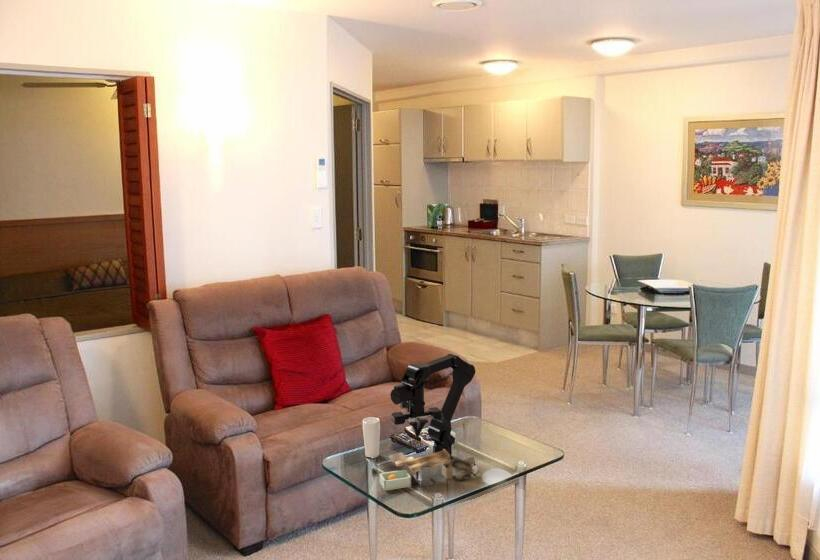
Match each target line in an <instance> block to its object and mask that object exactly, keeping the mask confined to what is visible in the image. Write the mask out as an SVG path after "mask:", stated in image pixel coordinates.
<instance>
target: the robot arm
mask: <svg viewBox="0 0 820 560" xmlns="http://www.w3.org/2000/svg"><path fill="white" fill-rule="evenodd" d="M449 368H451V369H452V373H451V377H452V383H451V385H450V387H449V391H448V393H447V394H446V397H445V400H444V403H443V404H442V405H443V406H442V407H441V409H440V408H439V407H437V406H436V407H434V406H433V407H428V408H427V411H425V405H426V402H425V386H428V385H429V382H428V381H427V380H428V379H429V378H430V377H431V376H432V375H433V374H436V373H439V372H441V371H444V370H447V369H449ZM475 374H476V368H475V366H474V364H471V363H468V362H466V361H465V360H464V359H462V358H461V357H460V356H458V355H456V354H452V353H448V354H446V355H444V356H441V357H438V358H436V359H433V360H430V361H427V362H422V363H421V362H417V363H415V362H414V363H411V364H409V365H407V368H406V370H405V372H404V373H403V376H402V378H401V379H400V384H396V385H393V389H391V391H390V393H389V396H390V400H391V402H392V403H393V404H394V405H396V406H397V405H400V409H405V410H404V411H406V412H407V413H405V414H403V412H402V411H396V412H392V413H391V415H390V420H391V421H392V423H393V424H394V425H395V426H396V425H397V426H398V425H404V424H405V423H406V422H407V424H408V425H410V426H411V428H412V430H413V433H414V436H415V438H416V439H417V438H419V437H420V435H421V433H422V430H423V428H424V427H425V425H426V424H427V423H429V421H428V417H429V418H430V417H432V418H431V419H430V423H429V425H428V426H427V428H428V430H427V434H428V436H429V438H430V440H431V441H432V442H433V445H432V454H433V453H436V452H440V451H443V449H445V450H446V451H447V452H448V453H449V454H450V457H451V460H454V456H453V455H452V453H453V451H452V450H453V449H452V446H453V445H454V444H455V441H456V438H455V437H454V436H453V435H452V433H451V432H452V423H451V422H452V418H453V417H454V414H455V411H456V409H457V406H458V404H459V402H460V399H461V396H462V394H463V391H464V389H465V387H466V386H468V385H469V384H470V383H471V382H472V380H474V379H473V378H474V377H475Z"/></svg>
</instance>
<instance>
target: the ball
mask: <svg viewBox="0 0 820 560" xmlns="http://www.w3.org/2000/svg"><path fill="white" fill-rule="evenodd" d="M393 479H397V477H396V476H395V475H390V476H389V477H388V480H393Z"/></svg>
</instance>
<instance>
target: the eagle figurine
mask: <svg viewBox="0 0 820 560" xmlns="http://www.w3.org/2000/svg"><path fill="white" fill-rule="evenodd" d="M450 465H451V466H452V467H453V468H455V469H458V470H464V471H463V472H461V473H458V474H456V475H453V479H452V480H453V481H457V482H459V481H463V480H464V479H466V478H470V477H471V475H473V476H474V477H477V473H478V472H479V467H478V466H477V464H476V460H474V461H473V466H472V465H471V463H470V462H466V461H464V460H462V459H453V461H451V462H450Z"/></svg>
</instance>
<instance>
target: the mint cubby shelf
mask: <svg viewBox="0 0 820 560" xmlns="http://www.w3.org/2000/svg"><path fill="white" fill-rule="evenodd" d="M408 472H409V471H407V469H399V470H393V471H385V472H380V473H379V474H378V476H379V478H378V479H379V481H378V482H379V484H380V487H382V489H383V490H384V491H385V492H386V491H392V490H397V489H403V488H404V489H405V488H411V487H412V476H411V475H410V473H408ZM390 475H395V476H396V477H397V479H393V480H388V477H389V476H390Z"/></svg>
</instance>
